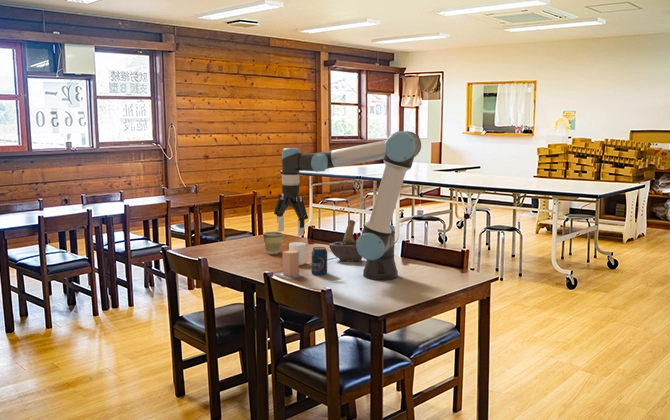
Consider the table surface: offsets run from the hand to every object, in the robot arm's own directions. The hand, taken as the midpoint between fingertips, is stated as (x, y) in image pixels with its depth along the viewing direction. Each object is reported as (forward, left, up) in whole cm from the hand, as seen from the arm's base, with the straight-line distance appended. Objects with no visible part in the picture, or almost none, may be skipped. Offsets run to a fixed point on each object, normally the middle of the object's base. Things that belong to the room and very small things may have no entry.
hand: (290, 233), depth 271 cm
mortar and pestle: (+5, -41, -19) cm, 46 cm away
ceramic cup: (+45, -26, -19) cm, 55 cm away
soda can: (-7, -10, -19) cm, 23 cm away
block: (0, 0, -18) cm, 18 cm away
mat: (0, 0, -19) cm, 19 cm away
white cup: (+15, -16, -19) cm, 29 cm away
